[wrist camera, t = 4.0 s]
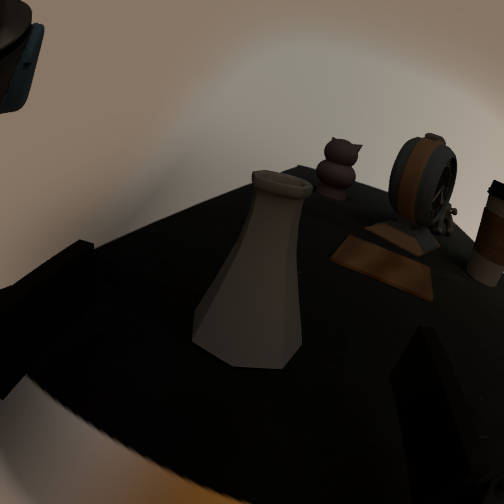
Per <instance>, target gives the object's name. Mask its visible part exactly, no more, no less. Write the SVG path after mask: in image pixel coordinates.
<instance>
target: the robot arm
mask: <svg viewBox="0 0 504 504" xmlns="http://www.w3.org/2000/svg"><path fill="white" fill-rule="evenodd" d="M31 21H32V11H31V8H30V7H29V6H28V5H27V4H26V3H24V2H22V1H21V0H0V114H2V113H8V112H14V111H18V110H19V109H21V108H22V107H23V105H24V104H25V103H26V100H27V98H28V95H29V91H30V87H31V84H32V80H33V76H34V72H35V68H36V64H37V60H38V56H39V52H40V48H41V44H42V40H43V36H44V26H43V25H42V24H38V23H34V24H31ZM96 300H97V295H96V281H95V263H94V244H93V243H90V242H87V241H84V240H78V241H76V242H75V243H73V244H72V245H70V246H69V247H67V248H66V249H64V250H63V251H61V252H59V253H58V254H57V255H55V256H53V257H52V258H51V259H49V260H47V261H46V262H45V263H43V264H42V265H40V266H39V267H37V268H36V269H34V270H33V271H32V272H30V273H29V274H27V275H26V276H24V277H23V278H22V279H20V280H19V281H18V282H16V283H15V284H13V285H12V286H11V285H10V286H8V287H6V288H3V289H0V399H2V400H4V398H5V397H6V396H7V395H8V394H9V393H10V391H11V390H12V389H13V388H14V387H15V386H16V384H17V383H18V382H19V381H20V380H21V379H22V378H23V377H24V376H25V374H26V373H27V372H28V371H29V370H30V369H31V368H32V367H33V366H34V364H35V363H36V362H37V361H38V360H39V359H40V358H41V357H42V356H43V355H44V354H45V353H46V351H47V350H48V349H49V348H50V347H51V346H52V345H53V344H54V343H55V342H56V341H57V340H58V339H59V338H60V337H61V336H62V335H63V334H64V333H65V331H66V330H67V329H68V328H69V327H70V326H71V325H72V324H73V323H74V322H75V321H76V320H77V319H78V318H79V317H80V316H81V315H82V314H83V313H84V312H85V311H86V310H87V309H88V308H89V307H90V306H91V305H92V304H93V303H94V302H95V301H96ZM390 380H391V384H392V388H393V393H394V397H395V402H396V407H397V412H398V417H399V422H400V427H401V433H402V438H403V444H404V450H405V456H406V462H407V469H408V476H409V483H410V491H411V500H412V504H504V473H499V470H498V467H497V464H496V461H495V458H494V455H493V451H492V448H491V445H490V443H489V440H488V439H487V434H486V431H485V429H483V428H484V426H483V423H482V420H481V418H480V415H479V414H478V413H477V411H476V410H475V409H474V407H473V406H472V405H471V404H467V402H466V399H465V397H464V394H463V392H462V389H461V387H460V384H459V382H458V380H457V377H456V375H455V373H454V370H453V368H452V366H451V363H450V361H449V359H448V357H447V355H446V352H445V350H444V348H443V346H442V344H441V342H440V340H439V338H438V336H437V333H436V331H435V329H434V328H429V327H424V326H418V328H417V330H416V332H415V333H414V335H413V337H412V339H411V341H410V342H409V344H408V346H407V348H406V349H405V351H404V353H403V354H402V356H401V358H400V360H399V361H398V363H397V364H396V366H395V368H394V369H393V371H392V373H391V374H390Z"/></svg>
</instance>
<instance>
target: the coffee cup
mask: <svg viewBox="0 0 504 504" xmlns="http://www.w3.org/2000/svg"><path fill="white" fill-rule="evenodd" d="M487 192H488V193H489V196H488V200H487V204H486V207H484V211H483V215H482V219H481V223H480V226H479V230H478V233H477V237H476V240H475V244H474V247H473V251H472V254H471V257H470V259H469V262H468V265H467V268H466V271H467V273H468V274H469V275H470V276H471V277H472V278H474V279H475V280H477V281H478V282H480V283H482V284H484V285H486V286H489V287H495V286H496V285H497V283H498V281H499V279H500V277H501V276H502V274H503V272H504V184H503V183H501V182H498V181H496V180H493V182H492V185H491V187H489V190H488V191H487Z"/></svg>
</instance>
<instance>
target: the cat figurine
mask: <svg viewBox="0 0 504 504" xmlns="http://www.w3.org/2000/svg"><path fill="white" fill-rule="evenodd" d="M361 147H362V145H356V144H352V143H350V142H349V141H347V140H343V139H336V138H334V137H333V138H332V141H330V142H329V143H328V144H327V145H326V146H325V149H324V154H325V157H326V160H323V161H321V162H320V163H319V164H318V166H317V168H316V173H317V176H318V178H319V179H320V181H321V182H322V184H319V185H318V186H317V190H316V192H317V193H319V194H321V195H323V196H325V197H328V198H331V199H335V200H345V199H346V196H347V192H345V189H346V188H349V187H350V186H352V185H353V184H354V182H355V179H356V174H355V171H354V169H353V168H352V167H351V166H353V165H354V164H355V163H356V161H357V159H358V152H359V150H360V149H361Z"/></svg>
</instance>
